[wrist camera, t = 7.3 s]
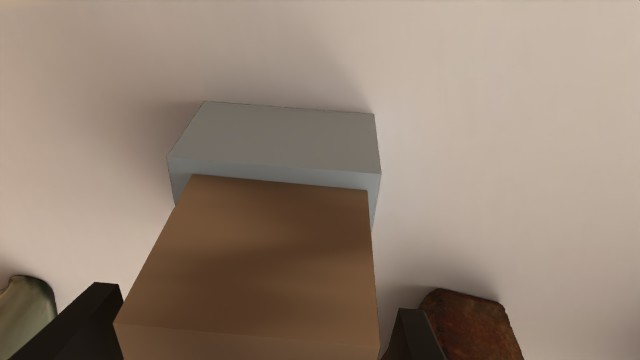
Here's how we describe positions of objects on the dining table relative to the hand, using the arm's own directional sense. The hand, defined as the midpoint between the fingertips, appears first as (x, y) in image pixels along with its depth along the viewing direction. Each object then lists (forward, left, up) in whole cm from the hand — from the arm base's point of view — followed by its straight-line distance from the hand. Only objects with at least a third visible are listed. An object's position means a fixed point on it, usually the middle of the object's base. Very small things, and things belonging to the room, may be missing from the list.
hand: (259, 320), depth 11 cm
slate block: (0, 0, -7) cm, 7 cm away
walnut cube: (0, 0, -3) cm, 3 cm away
